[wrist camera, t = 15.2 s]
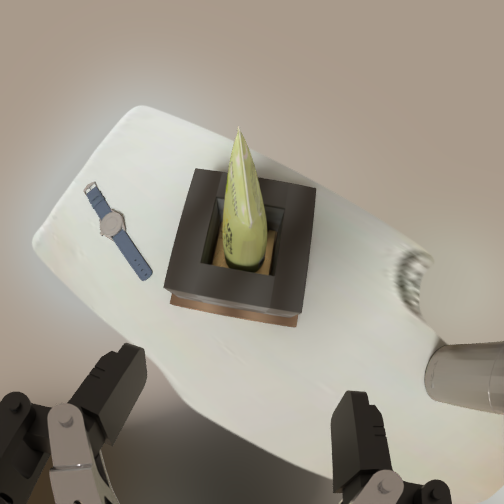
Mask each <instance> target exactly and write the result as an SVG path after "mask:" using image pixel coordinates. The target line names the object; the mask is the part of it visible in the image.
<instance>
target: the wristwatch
mask: <svg viewBox="0 0 504 504" xmlns="http://www.w3.org/2000/svg"><path fill="white" fill-rule="evenodd" d="M93 184H95V182H93V183H90V184H88V185H87V186H86V188H85V189H84V193H85V191H86V190H87V189H90V187H91V186H92V185H93ZM95 185H96V184H95ZM90 190H91V189H90ZM85 194H86V193H85ZM86 196H87V197H88V199H89V202H90V204H92V207H93V209H95V211H96V213H97V214H98V216H99V218H100V219H99V221H100V230H101V232H100V234H101V235H102V236H103V235H105V236H106V237H108V238H109V239H111V240H112V241H114V242H115V243H116V245H117V246H118V248H119V249H120V251H121V252H122V254H123V255H124V257H125V258H126V259H127V261H128V262H129V264H130V265H131V267H132V268H133V269H134V271H135V272H136V274H137V275H138V276H139V278H140V279H141V280H142V281H144V280H147V279H148V278H149V277H150V276H151V275H152V270H151V269H150V267H149V266H148V265H147V263H146V262H145V260H144V259H143V257H142V256H141V254H140V253H139V251H138V250H137V249H136V247H135V246H134V244H133V243H132V241H131V240H130V238H129V237H128V235H127V233H126V232H125V231H126V228H125V224H124V219H123V217H122V216H121V215H120V214H119V213H117V212H115V211H113V210H112V209H110V207H109V206H108V204H107V203H106V201H105V198H104V196H102V193H101V192H100V191H99V190H98V188H97V186H96V187H94V188H93V189H92V190H91V191H90V192H88V193H87V194H86ZM122 228H123V229H122ZM113 236H114V237H113ZM112 237H113V238H112ZM145 275H146V276H145Z"/></svg>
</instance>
